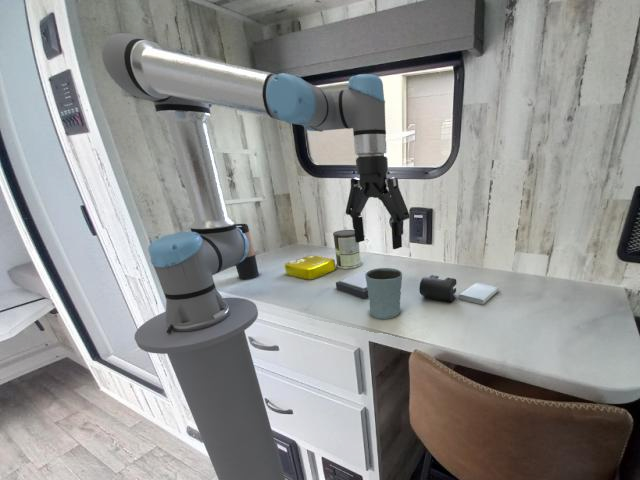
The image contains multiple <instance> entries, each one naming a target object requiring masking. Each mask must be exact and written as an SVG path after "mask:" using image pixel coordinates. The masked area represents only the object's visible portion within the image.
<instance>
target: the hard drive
mask: <svg viewBox="0 0 640 480" xmlns="http://www.w3.org/2000/svg"><path fill="white" fill-rule="evenodd" d="M498 292H499V287H498V286H494V285H489V284H485V283H481V282H480V283H479V282H475V283H473V284H472V285H471V286H469V287H468V288H467V289H465V290H464V291H462V292H460V293H459V294H458V299H460V300H462V301H466V302H470V303H475V304H478V305H485V304H486V303H487V302H488V301H489V300H490V299H491V298H492V297H493V296H494V295H495V294H497V293H498Z"/></svg>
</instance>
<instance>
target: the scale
mask: <svg viewBox="0 0 640 480" xmlns="http://www.w3.org/2000/svg"><path fill="white" fill-rule="evenodd" d="M367 272H368V271H362V272H359V273H356V274H354V275H350V276H348V277H345V278H343V279H340V280H339V281H336V282H335V289H336V290H337V291H341V292H343V293H347V294H349V295H352V296H355V297H359V298H361V299H364V300H365V299H368V298H369V297H368V289H367V282H366V276H365V274H366V273H367Z"/></svg>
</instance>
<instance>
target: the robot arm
mask: <svg viewBox="0 0 640 480" xmlns="http://www.w3.org/2000/svg"><path fill="white" fill-rule="evenodd" d="M101 48H102V49H101V58H102V62H103V65H104V68H105V70H106V72H107V73H108V75H109V76H110V78H111V79H112V80H113V81H114V83H115V84H116V85H118V87H120V88H121V89H122V90H124V91H125V92H126V93H127V94H130V95H131V96H132V97H133V96H134V97H136V98H138V99H141V100H145V101H149V102H153V105H154V108H155V112H156V114H157V115H158V116H159V117H161V118H162V119H163V120H164V121H165V122H166V125H167V127H168V128H167V129H168V132H169V136H170V138H171V142H172V146H173V149H174V153H175V156H176V160H177V163H178V166H179V170H180V173H181V177H182V181H183V184H184V187H185V191H186V195H187V198H188V202H189V205H190V209H191V213H192V215H193V221H192V222H191V224H190V225H189V229H190V231H180V232H176V233H173V234H172V233H171V234H166V235H163V236H161V237H159V238H156V239H154V240H153V241H151V242H150V243H149V245H148V253H149V257H150V263H151V265H152V266H153V268H154V271H155V273H156V276H157V279H158V281H159V284H160V287H161V290H162V292H163V295H164V298H165V300H166V302H165V312H166V324H167V327H168V330H167V331H166V332H167V333H169V334H170V332H171V331H174V332H192V331H197V330H202V329H205V328H209V327H211V326H214V325H216V324H218V323H220V322H222V321H224V320H225V319H226V318H227V317H228V316H229V315H230V309H229V306H228V304H227V303H226V301H225V300H224V299H223V298H224V297H223V296H222V294H221V293H220V292H219V291H218V290H217V287H216V284H215V280H214V277H213V276H214V275H217V274H219V273H221V272H223V271H225V270H228V269H231V268H233V267H236V265H237V264H239V263H240V262H242V261H243V260H244V259H245V258H246V257H247V255H248V252H249V242H248V239H247V237H246V235H245V234H244V233H242V230H240V229H239V228H237V227H236V224H237V223H236V221H235V220H234V219H232V218H231V217H229V214H228V210H227V209H228V208H227V204H226V201H225V196H224V192H223V188H222V184H221V180H220V175H219V172H218V167H217V163H216V158H215V153H214V150H213V145H212V141H211V137H210V133H209V129H208V125H207V124H208V122H209V120H210V119H211V118H212V114H211V108H212V107H213V106H216V107H219V108H220V107H221V108H223V109H224V108H225V109H229V110H234V111H238V112H243V113H248V114H251V115H254V116H255V115H256V116H260V117H265V118H269V119H273V120H277V121H281V122H285V123H287V124H292V125H296V126H297V125H299V126H302V127H303V128H304V129H305V130H307V131H309V132H325V131H332V130H336V131H337V130H345V129H347V130H349V129H350V130H351V129H352V131H353V132H352V133H353V144H354V154H355V155H356V156H357V157H356V159H355V166H356V167H355V169H356V173H357V175H359V177H352V178H350V189H349V195H348V198H347V203H346V209H345V214H346V215H347V216H348V215H349V216H350V218H351V221H352V222H351V223H352V230H354V232H355V241H356V242H357V243H358V242H359V243H362V242H365V231H364V218H363V216H362V213H363V210H364V208H365V206H366V204H367V202H368V200H369V199H370V198H374V199H378V200H379V201H381V203H382V204H383V206H384V208H385V209H386V211H387V212H388V214H389V215H390V217H391V219H392V222H391V223H390V224H391V225H390V226H391V242H392V250H397V249H400V248H403V237H402V236H403V235H404V221H406V220H409V219H410V218H411V216H410V212H409V209H408V207H407V204H406V202H405V199H404V198H403V195H402V192H401V190H400V186H399V179H398V177H387V174H388V173H389V163H388V162H389V161H388V157H387V156H386V154H388V145H387V144H388V143H387V129H386V128H387V127H386V99H385V94H384V84H383V83H384V82H383V81H382V79H381V77H379V76H378V75H375V74H371V73H369V74H368V73H361V74H356V75H352V76H351V77H349V80H348V88H346V89H342V90H341V89H340V90H326V89H325V90H324V89H323V88H321V87H318V86H316V85H314V84H312V83H310V82H308V81H306V80H304V79H303V78H302V77H300V76H298V75H294V74H290V73H287V72H286V73H283V72H282V73H278V74H277V73H273V72H269V71H265V70H259V69H254V68H250V67H246V66H241V65H237V64H232V63H227V62H221V61H217V60H212V59H209V58H203V57H198V56H194V55H189V54H188V53H186V52H184V51H182V50H179V49H175V48H171V47H169V46H167V45H164V44H161V43H158V42H155V41H153V40H150V39H147V38H146V37H143V36H140V35H137V34H134V33H129V32H119V33H115V34H112V35H111V36H109V37H107V39H106V40H105V41H104V43H103V45H102V47H101Z"/></svg>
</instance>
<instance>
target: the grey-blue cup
mask: <svg viewBox="0 0 640 480" xmlns="http://www.w3.org/2000/svg"><path fill="white" fill-rule="evenodd" d="M366 272H367V273H366V274H365V276H366V282H367V289H368V297H367V298H368V300H369V313H370V315H371V316H372V317H373V318H375V319H377V320H379V319H380V320H388V319H393V318H396V317H397V316H399V314H400V313H401V298H402V297H401V296H402V292H401V290H402V282H403V272H402V271H401V270H399V269H396V268H391V267H380V268H373V269H369V270H368V271H366Z"/></svg>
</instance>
